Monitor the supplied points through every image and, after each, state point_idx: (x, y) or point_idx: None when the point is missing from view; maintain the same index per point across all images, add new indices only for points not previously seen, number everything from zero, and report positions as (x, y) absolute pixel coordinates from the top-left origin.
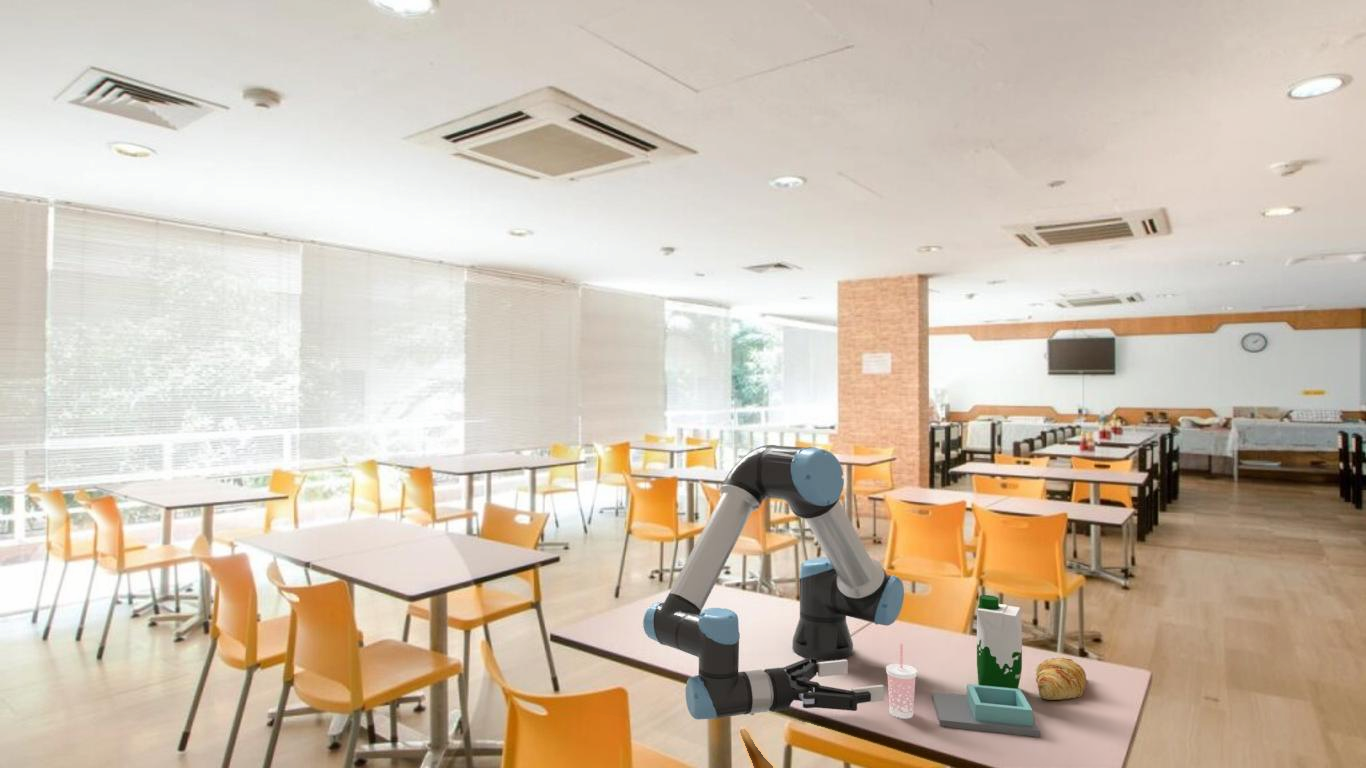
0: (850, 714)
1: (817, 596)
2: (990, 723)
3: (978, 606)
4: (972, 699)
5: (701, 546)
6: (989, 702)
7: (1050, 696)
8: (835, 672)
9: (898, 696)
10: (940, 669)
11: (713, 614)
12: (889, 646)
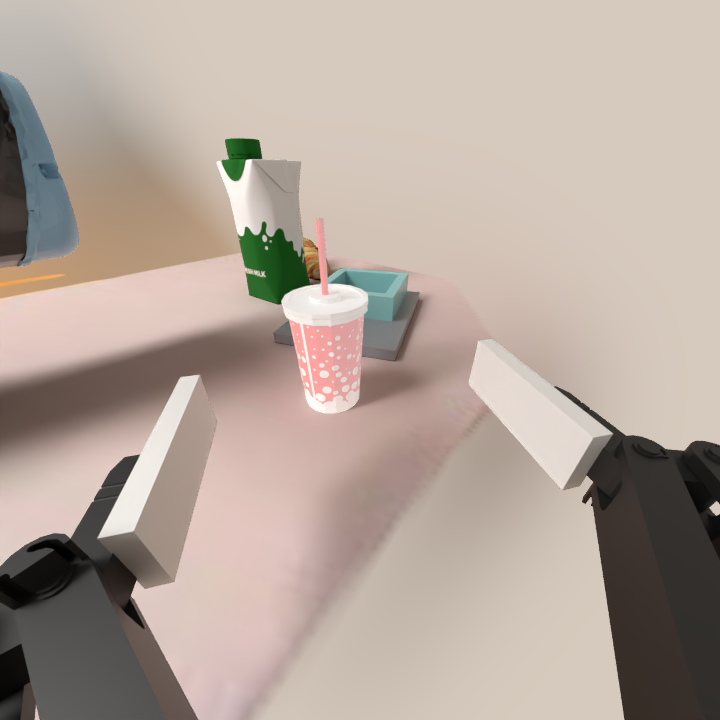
0: (316, 514)
1: None
2: (403, 313)
3: (238, 159)
4: None
5: None
6: None
7: (328, 271)
8: (200, 463)
9: (356, 362)
10: (182, 313)
11: None
12: (25, 335)
